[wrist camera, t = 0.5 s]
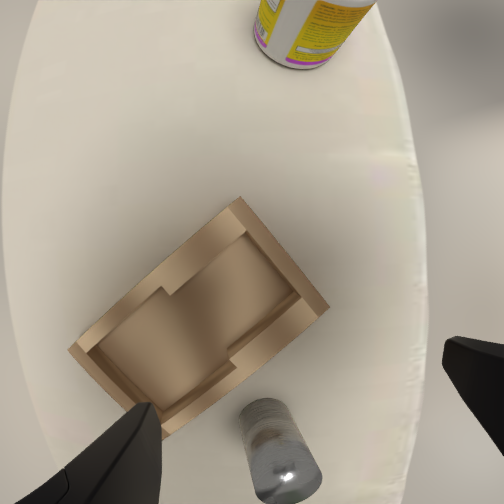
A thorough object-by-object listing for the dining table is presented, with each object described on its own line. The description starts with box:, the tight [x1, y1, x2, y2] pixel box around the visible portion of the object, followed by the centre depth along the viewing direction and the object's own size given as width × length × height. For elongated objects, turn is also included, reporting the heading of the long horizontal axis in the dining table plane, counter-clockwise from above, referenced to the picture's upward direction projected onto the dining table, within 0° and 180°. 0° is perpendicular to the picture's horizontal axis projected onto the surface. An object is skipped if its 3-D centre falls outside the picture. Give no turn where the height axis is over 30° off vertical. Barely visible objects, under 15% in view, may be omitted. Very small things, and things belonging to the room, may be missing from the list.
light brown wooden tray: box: [68, 196, 330, 440], centre depth 20 cm, size 15×9×2 cm, turn 130°
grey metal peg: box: [239, 398, 322, 504], centre depth 19 cm, size 4×4×8 cm
